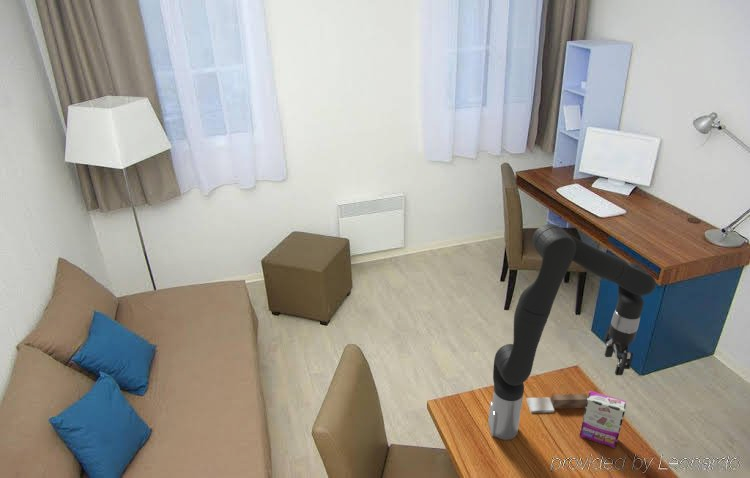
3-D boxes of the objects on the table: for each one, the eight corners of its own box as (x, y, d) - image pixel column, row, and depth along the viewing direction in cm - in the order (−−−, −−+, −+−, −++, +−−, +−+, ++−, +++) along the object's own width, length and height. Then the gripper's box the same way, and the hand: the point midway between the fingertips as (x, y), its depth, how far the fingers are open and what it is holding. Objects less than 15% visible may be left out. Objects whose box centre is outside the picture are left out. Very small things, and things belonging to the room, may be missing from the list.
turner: (530, 412, 181) (532, 404, 180) (526, 399, 187) (527, 391, 185) (588, 411, 181) (590, 403, 179) (582, 398, 187) (584, 390, 185)
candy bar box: (617, 437, 171) (627, 400, 163) (615, 449, 167) (625, 411, 160) (581, 425, 176) (589, 389, 168) (578, 436, 172) (587, 399, 164)
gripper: (603, 310, 167) (593, 350, 175) (621, 339, 154) (609, 380, 162) (627, 311, 167) (616, 350, 174) (647, 339, 154) (634, 381, 162)
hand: (613, 365), depth 168 cm, fingers open, 8 cm apart
